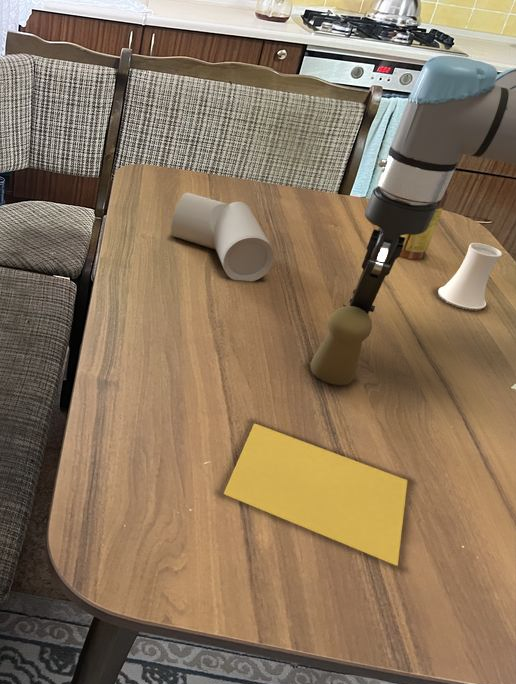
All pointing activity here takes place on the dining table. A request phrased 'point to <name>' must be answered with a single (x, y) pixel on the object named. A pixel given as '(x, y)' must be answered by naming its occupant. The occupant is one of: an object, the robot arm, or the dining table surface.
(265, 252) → the bent grey cylinder
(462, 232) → the dining table surface
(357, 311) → the cork
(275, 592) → the dining table surface
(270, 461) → the yellow cloth
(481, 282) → the vase
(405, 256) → the sauce bottle
